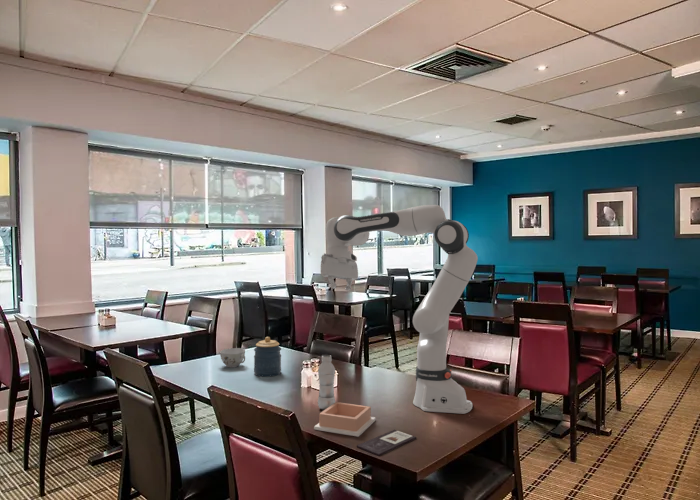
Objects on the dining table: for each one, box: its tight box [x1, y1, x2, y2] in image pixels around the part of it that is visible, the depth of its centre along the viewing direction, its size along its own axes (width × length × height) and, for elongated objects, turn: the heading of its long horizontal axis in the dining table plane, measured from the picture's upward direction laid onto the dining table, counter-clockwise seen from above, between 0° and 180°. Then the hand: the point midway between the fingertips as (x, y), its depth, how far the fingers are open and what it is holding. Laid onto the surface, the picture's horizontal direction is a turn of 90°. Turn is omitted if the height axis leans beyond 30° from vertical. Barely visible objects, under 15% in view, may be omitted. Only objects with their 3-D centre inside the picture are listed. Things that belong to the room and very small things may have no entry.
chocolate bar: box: [356, 429, 417, 457], centre depth 153 cm, size 9×1×18 cm
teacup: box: [219, 347, 246, 368], centre depth 248 cm, size 15×12×8 cm
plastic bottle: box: [317, 354, 336, 411], centre depth 184 cm, size 6×7×20 cm
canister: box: [253, 336, 282, 378], centre depth 235 cm, size 13×13×18 cm
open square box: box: [313, 401, 377, 438], centre depth 168 cm, size 16×16×5 cm
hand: (341, 289), depth 199 cm, fingers open, 8 cm apart
